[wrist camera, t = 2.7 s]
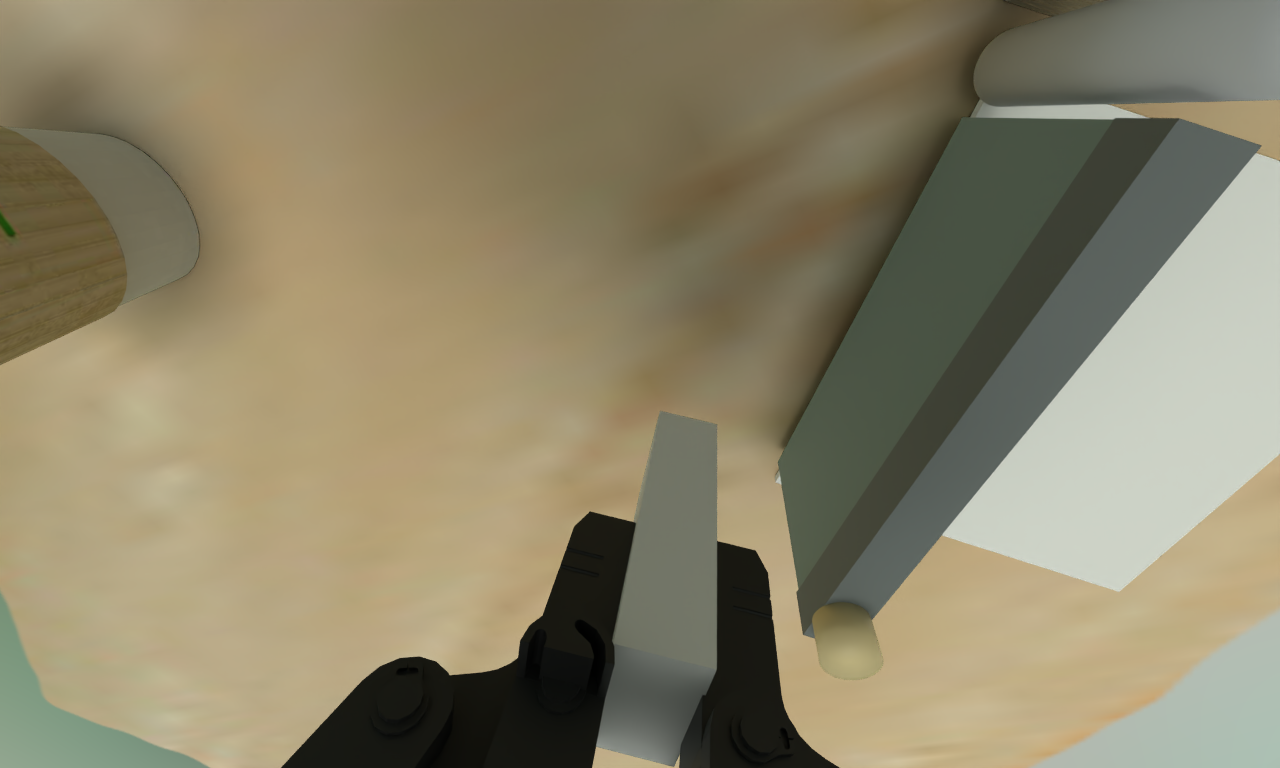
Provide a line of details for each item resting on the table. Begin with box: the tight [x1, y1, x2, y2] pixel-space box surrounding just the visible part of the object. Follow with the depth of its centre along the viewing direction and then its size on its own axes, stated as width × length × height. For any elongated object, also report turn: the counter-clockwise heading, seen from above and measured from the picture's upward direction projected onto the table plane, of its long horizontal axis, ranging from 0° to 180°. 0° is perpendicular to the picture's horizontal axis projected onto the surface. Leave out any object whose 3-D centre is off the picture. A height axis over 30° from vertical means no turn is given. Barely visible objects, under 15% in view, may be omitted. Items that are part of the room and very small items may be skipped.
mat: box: [775, 99, 1280, 592], centre depth 20 cm, size 17×17×1 cm
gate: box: [778, 0, 1280, 680], centre depth 14 cm, size 16×2×10 cm, turn 164°
